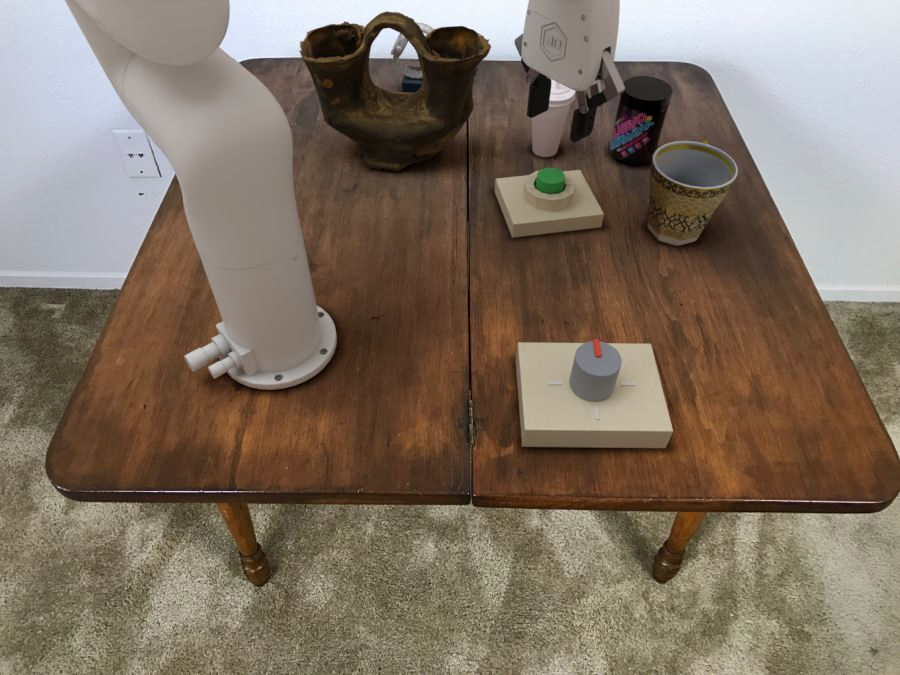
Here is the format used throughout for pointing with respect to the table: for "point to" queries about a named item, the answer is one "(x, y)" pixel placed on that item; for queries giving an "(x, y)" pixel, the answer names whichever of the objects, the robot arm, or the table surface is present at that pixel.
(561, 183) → the button
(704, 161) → the ceramic cup
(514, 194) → the block
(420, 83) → the watch
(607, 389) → the program dial
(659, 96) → the supplement container
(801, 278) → the table surface
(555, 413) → the control panel
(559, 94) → the smoothie
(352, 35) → the pottery vessel
